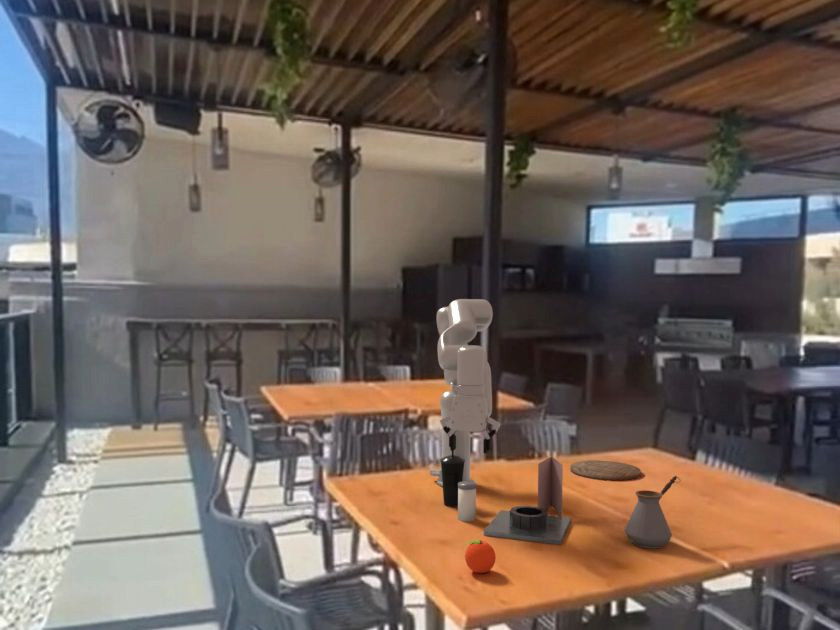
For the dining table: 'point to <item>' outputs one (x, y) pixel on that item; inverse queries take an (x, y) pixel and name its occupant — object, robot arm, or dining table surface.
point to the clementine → (480, 556)
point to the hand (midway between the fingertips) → (469, 451)
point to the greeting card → (550, 484)
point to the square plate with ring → (528, 525)
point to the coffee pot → (649, 520)
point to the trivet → (605, 470)
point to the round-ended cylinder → (466, 501)
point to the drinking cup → (451, 478)
